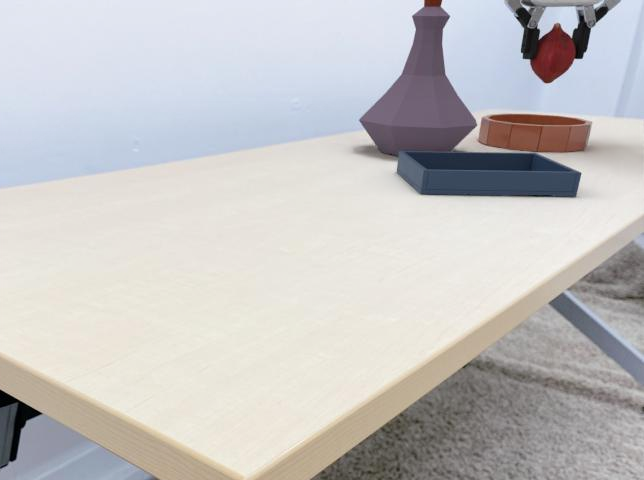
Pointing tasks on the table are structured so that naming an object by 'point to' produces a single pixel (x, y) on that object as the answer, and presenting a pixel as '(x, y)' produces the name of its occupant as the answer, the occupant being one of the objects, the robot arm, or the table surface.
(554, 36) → the onion
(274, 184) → the table surface
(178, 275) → the table surface
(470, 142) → the table surface
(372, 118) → the flask
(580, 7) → the robot arm
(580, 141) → the bowl
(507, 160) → the tray
